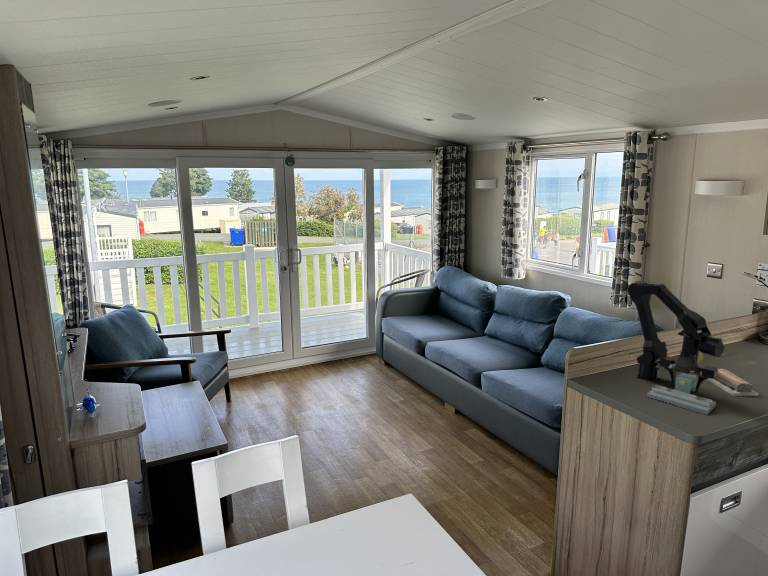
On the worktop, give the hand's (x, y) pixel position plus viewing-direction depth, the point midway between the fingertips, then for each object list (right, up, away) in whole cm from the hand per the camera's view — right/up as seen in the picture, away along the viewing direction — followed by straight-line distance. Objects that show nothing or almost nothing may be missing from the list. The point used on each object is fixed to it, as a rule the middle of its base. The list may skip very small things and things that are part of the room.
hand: (684, 388), depth 203 cm
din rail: (-6, -2, -9) cm, 11 cm away
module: (0, -1, 0) cm, 1 cm away
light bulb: (+14, +3, +21) cm, 26 cm away
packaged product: (+21, -1, +6) cm, 22 cm away
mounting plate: (-6, -3, -9) cm, 11 cm away
